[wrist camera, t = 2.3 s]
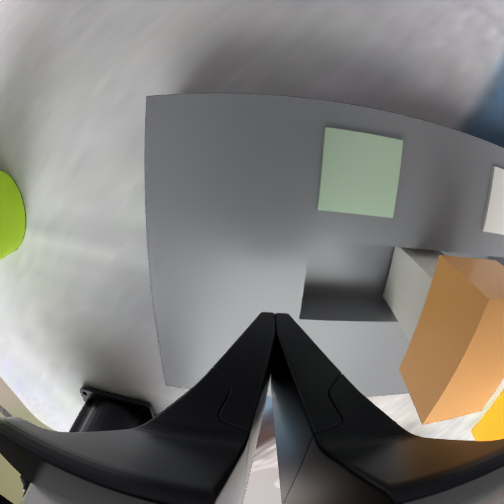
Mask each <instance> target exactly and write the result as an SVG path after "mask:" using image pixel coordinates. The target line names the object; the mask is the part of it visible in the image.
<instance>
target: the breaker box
mask: <svg viewBox="0 0 504 504" xmlns="http://www.w3.org/2000/svg"><path fill="white" fill-rule="evenodd" d="M145 206H146V227H147V243H148V256H149V268H150V279H151V288H152V297H153V306H154V314H155V321H156V329H157V335H158V342H159V348H160V355H161V360H162V366H163V372H164V377H165V383H166V385H167V386H173V387H179V388H186V389H191V388H192V387H193V386H195V385H196V384H197V383H198V382H199V381H200V380H201V379H202V378H203V377H204V376H205V375H206V374H207V372H208V371H209V370H210V369H211V368H213V366H214V365H215V364H216V363H217V362H218V360H219V359H220V358H221V357H222V356H223V355H224V354H225V353H226V352H227V350H228V349H229V348H230V347H231V346H232V345H233V344H234V343H235V341H236V340H237V339H238V338H239V337H240V336H241V335H242V333H243V332H244V331H245V330H246V329H247V328H248V327H249V325H250V324H251V323H252V322H253V321H254V320H255V318H256V317H257V316H258V315H259V314H260V313H261V312H273V313H274V314H275V313H288V314H289V315H290V316H291V317H292V318H293V319H294V320H295V322H296V323H297V324H298V325H299V326H300V327H301V328H302V329H303V330H304V332H305V333H306V334H307V335H308V336H309V337H310V338H311V339H312V340H313V342H314V343H315V344H316V345H317V346H318V347H319V348H320V349H321V350H322V352H323V353H324V354H325V355H326V356H327V357H328V358H329V359H330V360H331V361H332V363H333V364H334V365H335V366H336V367H337V368H338V369H339V370H340V371H341V373H342V374H343V375H344V376H345V377H346V378H347V379H348V380H349V381H350V382H351V383H352V384H353V385H354V386H355V387H356V388H357V389H358V390H359V391H360V392H361V393H362V394H363V395H364V396H365V397H371V396H384V395H395V394H405V393H409V391H408V389H407V387H406V385H405V382H404V380H403V378H402V375H401V373H400V371H399V368H400V365H401V363H402V361H403V359H404V356H405V354H406V352H407V349H408V347H409V344H410V340H409V339H408V337H407V335H406V333H405V332H404V330H403V328H402V327H401V325H400V323H399V322H398V320H397V318H396V317H395V315H394V313H393V312H392V310H391V308H390V307H389V305H388V303H387V302H386V300H385V299H384V297H383V294H384V290H385V286H386V282H387V279H388V275H389V271H390V266H391V262H392V258H393V253H394V249H395V247H404V248H415V249H425V250H436V251H441V252H443V253H444V254H445V255H446V256H457V257H467V258H478V259H488V260H496V261H497V262H499V263H500V264H502V265H503V266H504V148H503V147H500V146H498V145H495V144H493V143H490V142H488V141H485V140H483V139H480V138H477V137H474V136H472V135H469V134H466V133H463V132H460V131H457V130H454V129H451V128H448V127H445V126H441V125H438V124H435V123H431V122H428V121H424V120H420V119H417V118H413V117H409V116H405V115H401V114H397V113H392V112H388V111H383V110H378V109H374V108H369V107H363V106H358V105H352V104H346V103H340V102H333V101H326V100H319V99H310V98H301V97H291V96H279V95H265V94H243V93H192V94H170V95H155V96H147V99H146V119H145ZM267 397H272V395H271V383H270V382H269V388H268V393H267Z"/></svg>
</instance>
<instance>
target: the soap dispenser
mask: <svg viewBox="0 0 504 504" xmlns="http://www.w3.org/2000/svg"><path fill="white" fill-rule="evenodd" d="M25 225H26V219H25V209H24V204H23V200H22V197H21V194H20V191H19V189H18V187H17V185H16V183H15V182H14V180H13V179H12V178H11V177H10V176H9V175H8V174H7V173H5V172H3V171H0V260H1V259H2V258H4V257H5V256H7V255H9V254H10V253H12V252H13V251H15V250H16V249H18V247H19V246H20V245H21V243H22V241H23V238H24V234H25Z"/></svg>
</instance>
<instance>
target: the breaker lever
mask: <svg viewBox="0 0 504 504" xmlns="http://www.w3.org/2000/svg"><path fill="white" fill-rule="evenodd" d="M383 297H384V299H385V300H386V302H387V303H388V305H389V307H390V308H391V310H392V312H393V313H394V315H395V317H396V318H397V320H398V322H399V323H400V325H401V327H402V328H403V330H404V332H405V333H406V335H407V337H408V339H409V340H410V344H409V347H408V349H407V352H406V354H405V356H404V359H403V361H402V363H401V365H400V368H399V371H400V373H401V375H402V378H403V380H404V382H405V385H406V387H407V389H408V391H409V394H410V396H411V398H412V401H413V403H414V406H415V408H416V410H417V413H418V415H419V418H420V420H421V423H422V425H424V424H429V423H434V422H438V421H443V420H448V419H452V418H456V417H460V416H464V415H468V414H471V413H475V412H478V411H481V410H482V409H483V408H484V406H485V405H486V403H487V402H488V400H489V399H490V398H491V396H492V395H493V393H494V392H495V390H496V389H497V387H498V385H499V384H500V382H501V381H502V379H503V378H504V266H503V265H502V264H500V263H499V262H497V261H496V260H488V259H478V258H467V257H457V256H446V255H445V254H444V253H443V252H441V251H436V250H425V249H415V248H404V247H395V249H394V253H393V258H392V262H391V266H390V271H389V275H388V279H387V282H386V286H385V290H384V294H383Z"/></svg>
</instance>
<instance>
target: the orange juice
mask: <svg viewBox="0 0 504 504" xmlns="http://www.w3.org/2000/svg"><path fill="white" fill-rule="evenodd" d="M471 432H472V434H473V436H474V438H475V440H476V441H492V440H499V439H504V390H503V391H502V392H501V394H500V395H499V397H498V398H497V399H496V401H495V402H494V404H493V405H492V406H491V407H490V409H489V410H488V411H487V413H486V414H485V415H484V416H483V418H482V419H481V420H480V421H479V423H478V424H477V425H476V426H475V427H474V429H473V430H472V431H471Z"/></svg>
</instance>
